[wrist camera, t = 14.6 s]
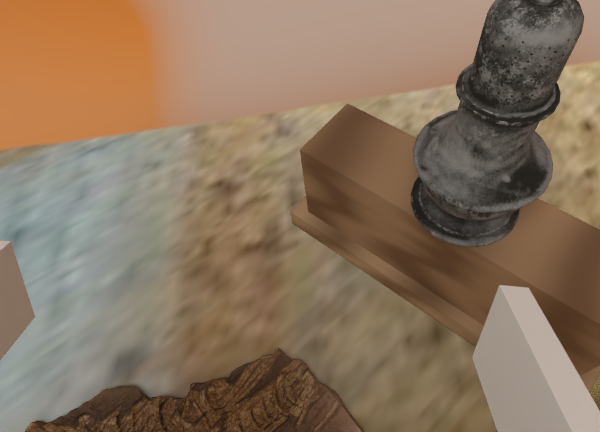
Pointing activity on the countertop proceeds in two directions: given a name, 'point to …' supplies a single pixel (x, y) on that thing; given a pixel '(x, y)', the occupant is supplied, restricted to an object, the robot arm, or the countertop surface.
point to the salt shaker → (496, 125)
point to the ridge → (438, 254)
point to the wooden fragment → (219, 405)
